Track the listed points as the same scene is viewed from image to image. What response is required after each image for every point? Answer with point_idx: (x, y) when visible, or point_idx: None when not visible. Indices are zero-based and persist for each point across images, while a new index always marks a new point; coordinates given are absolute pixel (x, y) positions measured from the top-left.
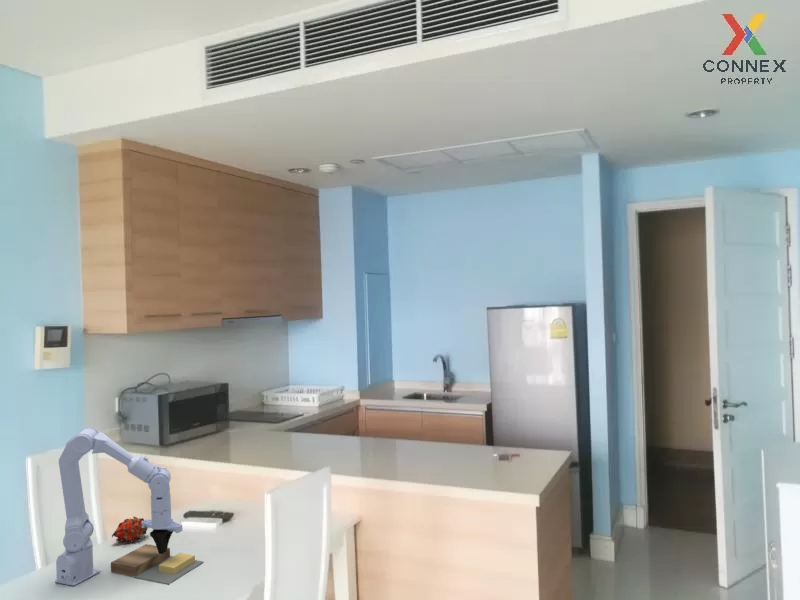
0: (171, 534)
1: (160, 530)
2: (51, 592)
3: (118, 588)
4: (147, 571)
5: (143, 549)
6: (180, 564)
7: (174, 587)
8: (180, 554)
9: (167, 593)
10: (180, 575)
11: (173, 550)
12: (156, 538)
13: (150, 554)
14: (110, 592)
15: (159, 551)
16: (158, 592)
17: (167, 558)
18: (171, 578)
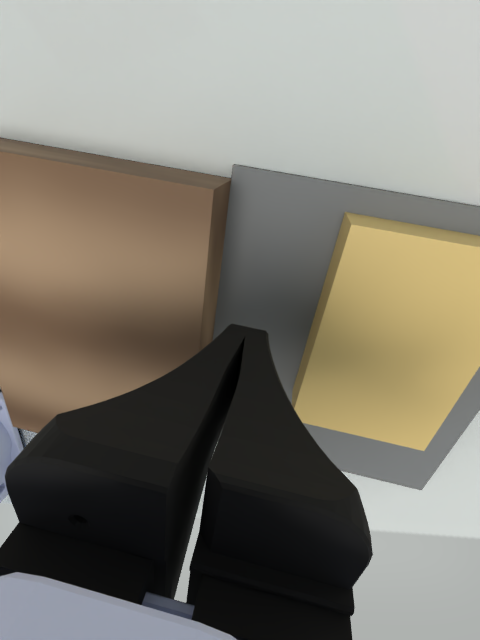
0: (319, 449)
1: (164, 591)
2: (10, 499)
3: (203, 494)
4: None
5: (12, 251)
6: (451, 406)
7: (463, 503)
8: (377, 260)
9: (448, 535)
10: (459, 427)
11: (163, 9)
12: (190, 534)
13: (140, 327)
14: (196, 513)
15: (234, 392)
16: (399, 527)
17: (233, 218)
18: (414, 451)
